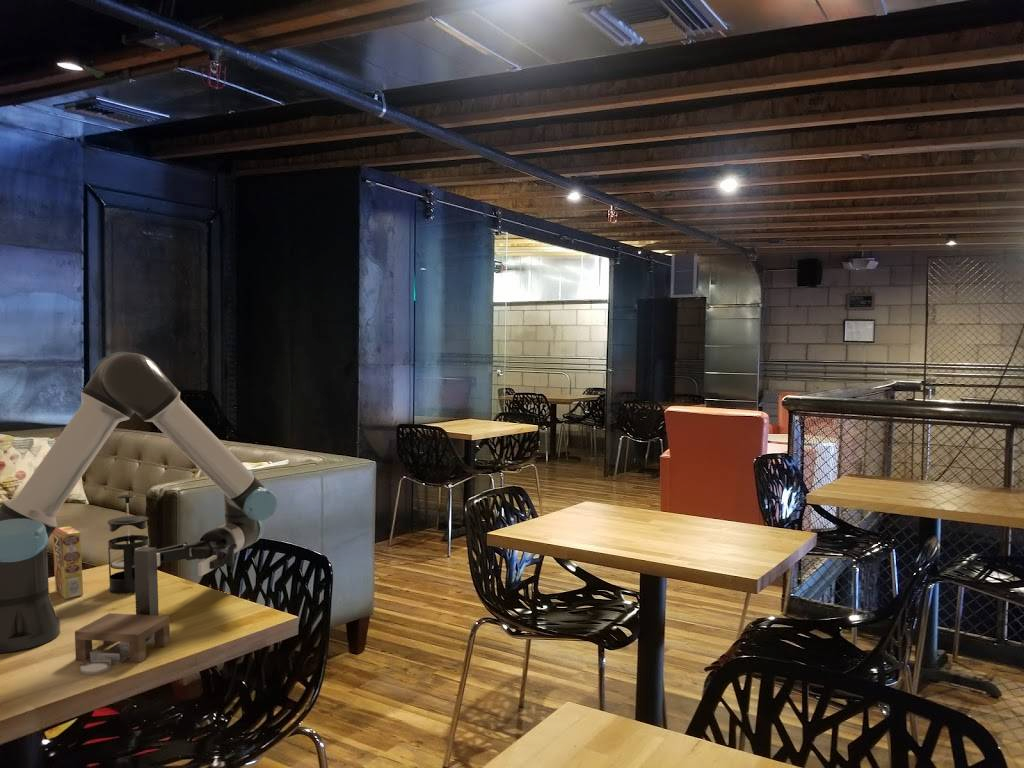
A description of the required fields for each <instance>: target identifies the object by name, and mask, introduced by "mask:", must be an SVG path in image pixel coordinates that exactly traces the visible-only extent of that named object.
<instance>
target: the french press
mask: <svg viewBox="0 0 1024 768" xmlns="http://www.w3.org/2000/svg"><path fill="white" fill-rule="evenodd" d="M137 495H138V494H135V493H126V494H121V495H118V496H117V498H118V499H124V500H125V501H124V503H125V504H126V515H125V516H121V517H115V518H111V519H109V520H108V521H107V522H106V523H107V525H109V531H110V532H111V533H113V532H116V531H117V530H119V529H120V528H122V527H124V526H127V535H123V536H118V537H115V538H112V539H109V540H108V541H107V542H108V543H107V546H108V549H107V550H108V551H107V552H108V573H109V574H108V577H109V587H108V591H109V593H110V592H111V594H113V593H117V594H116V595H127V593H130V594H135V593H134V592H135V569H134V551H135V550H136V549H140V548H142V547H150V536H148V535H143V534H142V535H141V534H130V526H132V527H135V528H137V529H139V530H145V529H146V528H147V522H148V520H149V517H148V516H145V515H130V513H129V512H130V511H129V508H130V507H129V503H130V500H131V498H132V499H133V498H136V497H137ZM122 542H125V543H122ZM111 550H115V551H116V550H118V551H122V552H123V558H120V559H119V560H115V561H112V562H111ZM112 569H113V570H121V571H117V572H114V573H113V574H112Z"/></svg>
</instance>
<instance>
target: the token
mask: <svg viewBox="0 0 1024 768" xmlns="http://www.w3.org/2000/svg"><path fill="white" fill-rule="evenodd" d="M111 668H112V664H111V659H110V658H107V657H98V658H92V659H90V658H89V659H87V660H86V661H82V662H81V663H80V664H79V671H80V672H79V674H81V675H83V674H84V676H91V675H92V676H93V675H94V676H95V675H98V674H102V673H105V672H107V671H109V670H110V669H111Z"/></svg>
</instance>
